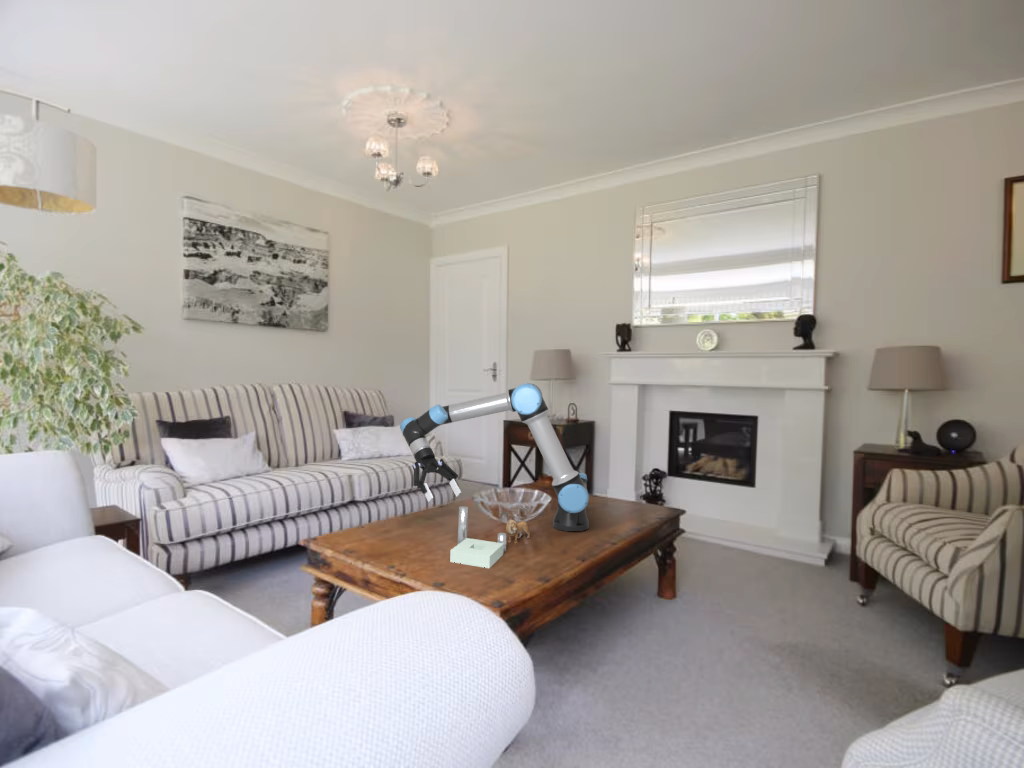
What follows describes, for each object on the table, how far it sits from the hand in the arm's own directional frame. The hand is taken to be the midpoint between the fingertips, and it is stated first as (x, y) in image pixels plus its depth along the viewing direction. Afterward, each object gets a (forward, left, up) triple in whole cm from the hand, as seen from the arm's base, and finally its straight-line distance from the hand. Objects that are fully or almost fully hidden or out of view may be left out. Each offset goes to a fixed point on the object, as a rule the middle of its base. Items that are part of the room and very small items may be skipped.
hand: (445, 497), depth 201 cm
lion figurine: (-27, -9, -16) cm, 32 cm away
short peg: (-24, +3, -16) cm, 29 cm away
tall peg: (-9, +4, -16) cm, 19 cm away
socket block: (-19, +14, -16) cm, 29 cm away
